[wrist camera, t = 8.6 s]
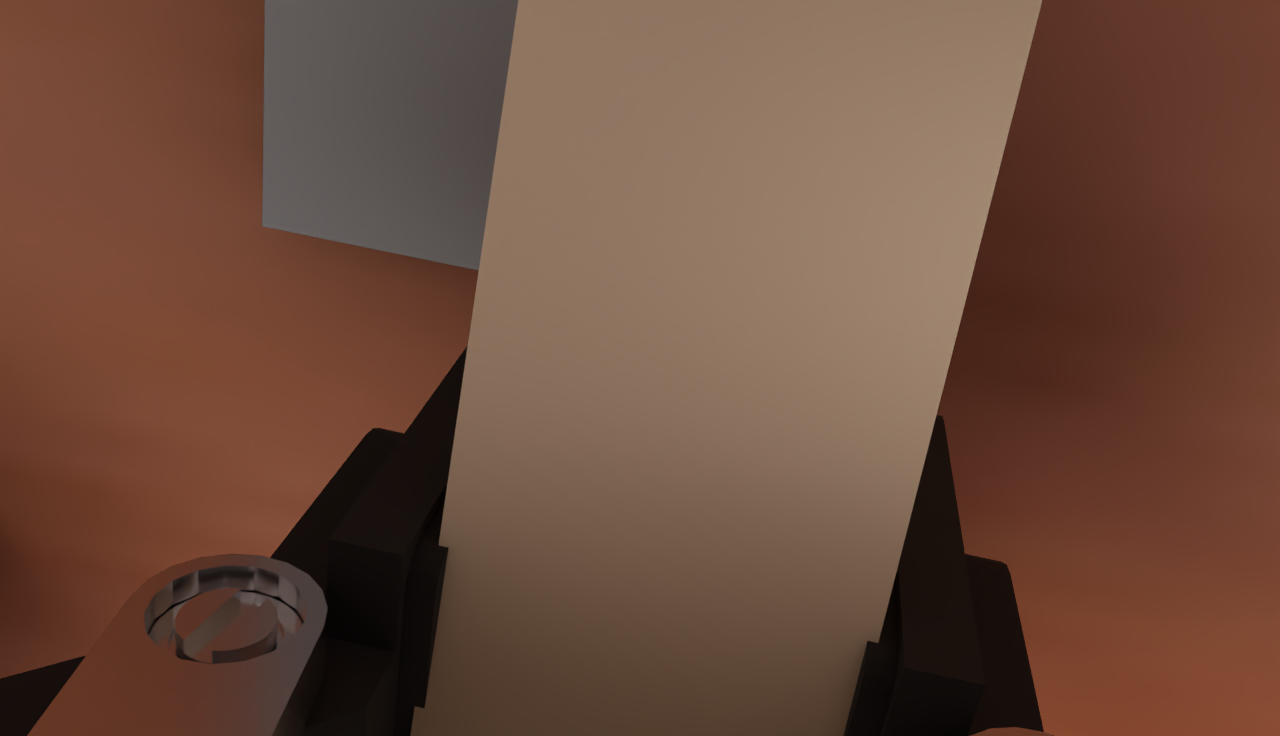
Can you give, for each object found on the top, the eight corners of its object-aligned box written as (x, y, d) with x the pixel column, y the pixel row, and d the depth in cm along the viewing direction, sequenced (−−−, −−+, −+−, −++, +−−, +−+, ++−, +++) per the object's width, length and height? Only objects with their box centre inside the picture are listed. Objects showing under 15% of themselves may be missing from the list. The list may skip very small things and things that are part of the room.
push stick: (656, -126, 12) (559, -275, 7) (963, -74, 11) (1090, -185, 7) (480, 904, 15) (325, 1309, 10) (720, 963, 14) (682, 1409, 10)
